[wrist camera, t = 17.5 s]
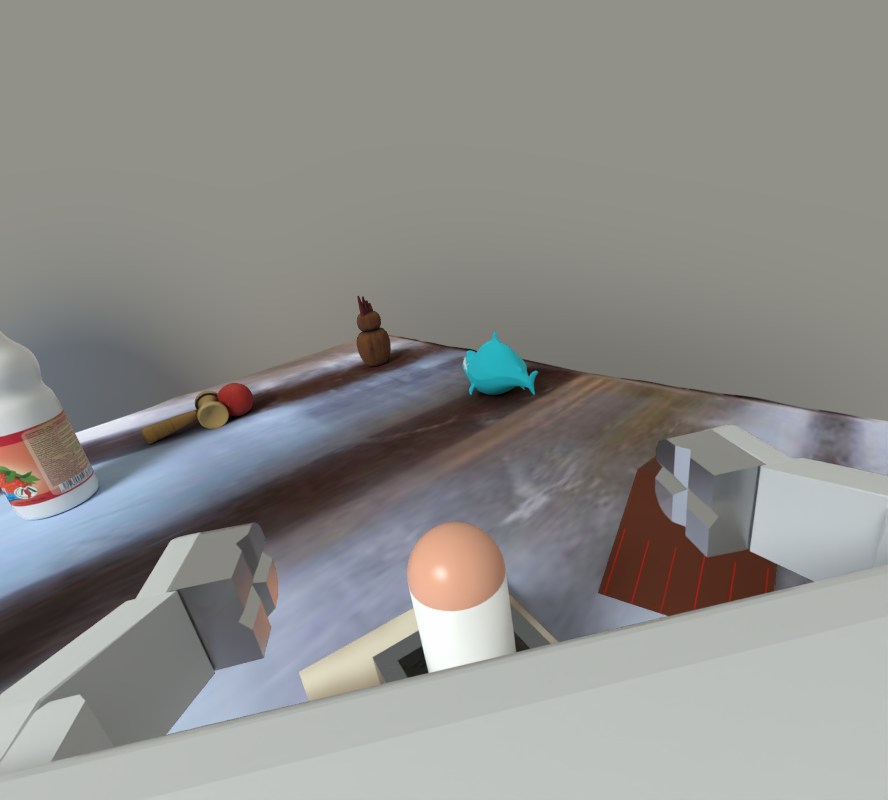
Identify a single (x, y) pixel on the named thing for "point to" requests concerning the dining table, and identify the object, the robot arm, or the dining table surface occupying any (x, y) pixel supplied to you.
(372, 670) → the jig board
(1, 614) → the dining table surface
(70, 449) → the fruit juice
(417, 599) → the peach-domed white capsule
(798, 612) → the robot arm
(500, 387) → the toy shark
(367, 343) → the wooden figurine
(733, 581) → the roof
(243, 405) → the kendama
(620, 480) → the dining table surface
